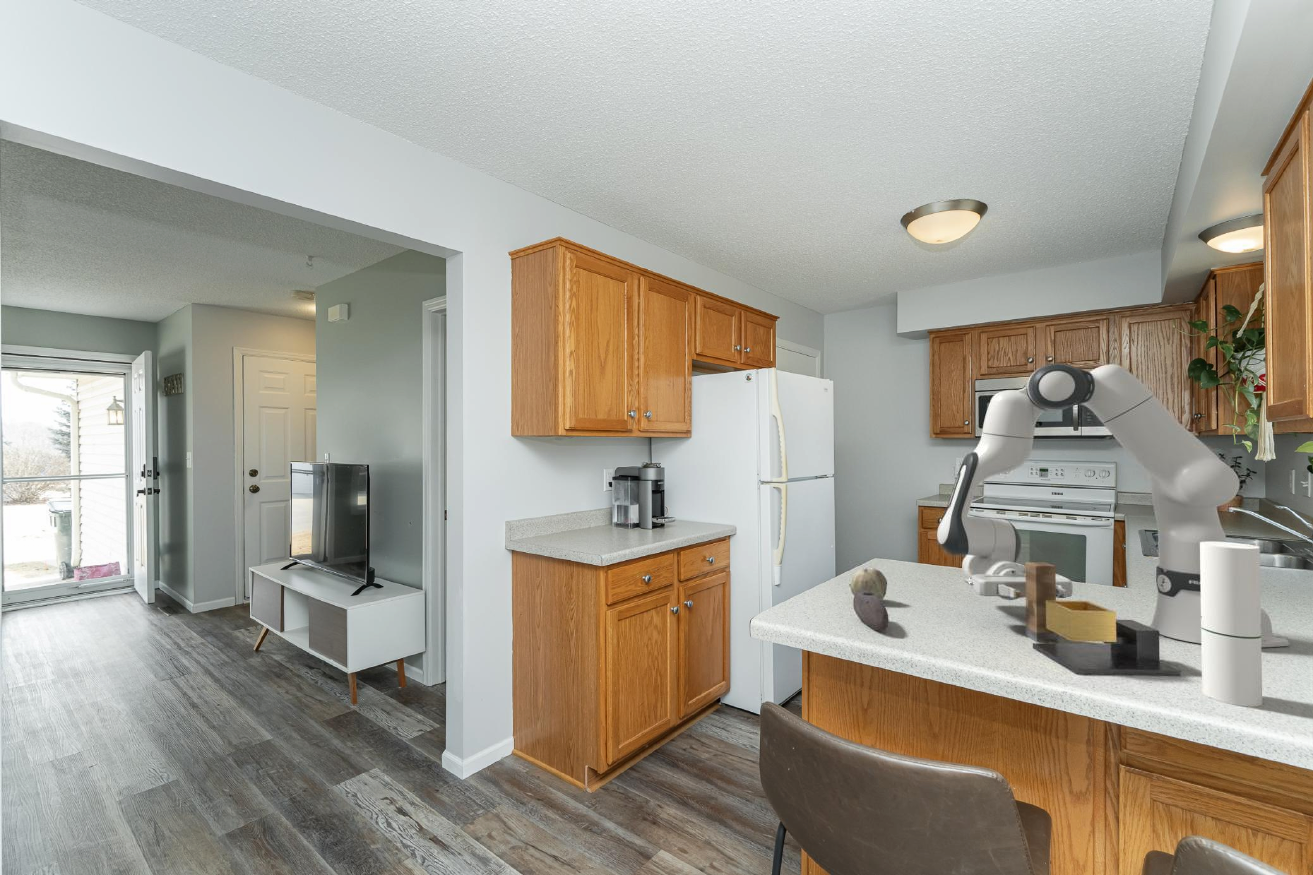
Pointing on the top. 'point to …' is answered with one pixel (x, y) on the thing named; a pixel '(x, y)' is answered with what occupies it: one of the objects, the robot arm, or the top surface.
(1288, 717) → the top surface
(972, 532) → the robot arm
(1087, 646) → the cup bracket
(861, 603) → the perforated stone tool
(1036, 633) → the rail post
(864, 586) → the garlic bulb
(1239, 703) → the cylindrical container
